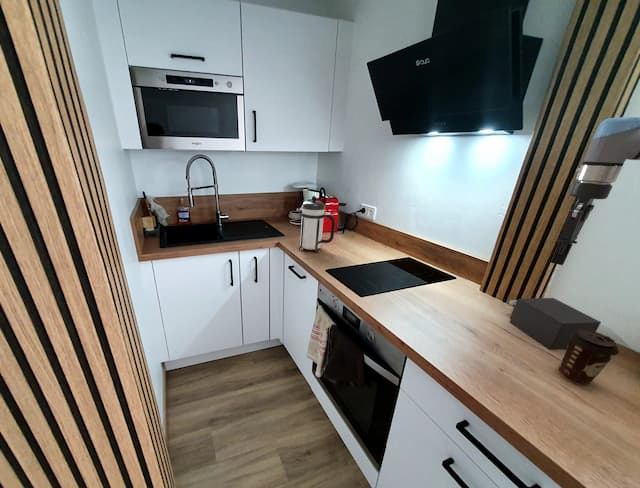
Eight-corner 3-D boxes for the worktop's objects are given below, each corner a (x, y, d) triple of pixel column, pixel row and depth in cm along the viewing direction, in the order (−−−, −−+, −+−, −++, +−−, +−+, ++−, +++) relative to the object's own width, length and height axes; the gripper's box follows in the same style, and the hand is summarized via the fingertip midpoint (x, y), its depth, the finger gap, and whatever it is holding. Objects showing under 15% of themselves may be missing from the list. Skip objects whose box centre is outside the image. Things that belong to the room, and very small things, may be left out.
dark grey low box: (509, 322, 100) (519, 298, 96) (542, 321, 101) (553, 297, 97) (549, 349, 86) (562, 323, 83) (586, 348, 88) (601, 322, 84)
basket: (499, 311, 104) (507, 293, 101) (527, 311, 106) (536, 292, 102) (545, 342, 88) (555, 321, 85) (578, 341, 89) (589, 320, 86)
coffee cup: (600, 381, 75) (626, 341, 70) (592, 395, 71) (619, 353, 65) (557, 361, 82) (578, 323, 76) (548, 373, 77) (569, 334, 72)
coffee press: (305, 255, 155) (308, 199, 143) (293, 246, 169) (295, 194, 156) (332, 252, 161) (338, 198, 149) (319, 243, 174) (323, 193, 162)
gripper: (580, 180, 83) (547, 255, 92) (568, 182, 76) (534, 263, 85) (618, 183, 77) (578, 263, 87) (608, 185, 70) (567, 272, 80)
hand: (556, 263), depth 86 cm, fingers closed
